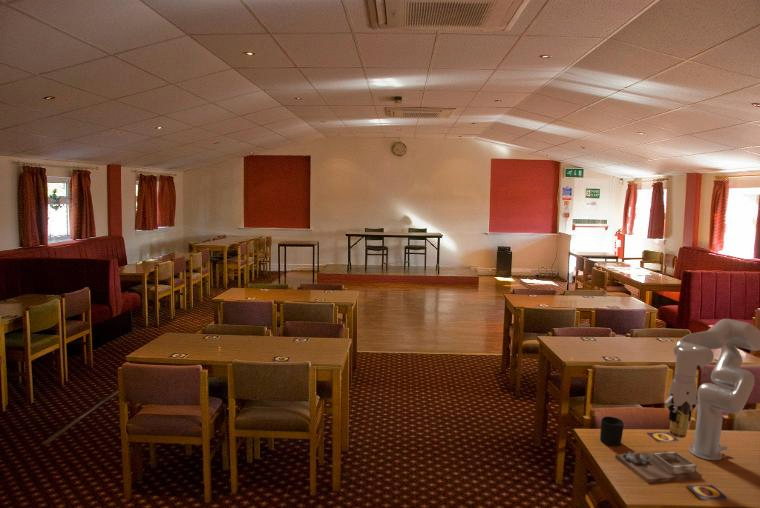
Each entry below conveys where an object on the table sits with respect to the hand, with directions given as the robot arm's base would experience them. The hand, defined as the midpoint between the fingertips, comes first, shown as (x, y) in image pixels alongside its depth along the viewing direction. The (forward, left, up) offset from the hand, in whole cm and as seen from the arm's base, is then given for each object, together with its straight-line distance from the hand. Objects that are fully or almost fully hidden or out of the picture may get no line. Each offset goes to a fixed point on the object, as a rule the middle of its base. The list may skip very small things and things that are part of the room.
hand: (679, 419), depth 226 cm
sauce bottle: (0, 0, -7) cm, 7 cm away
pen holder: (+11, -26, -22) cm, 36 cm away
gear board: (+6, -2, -21) cm, 22 cm away
